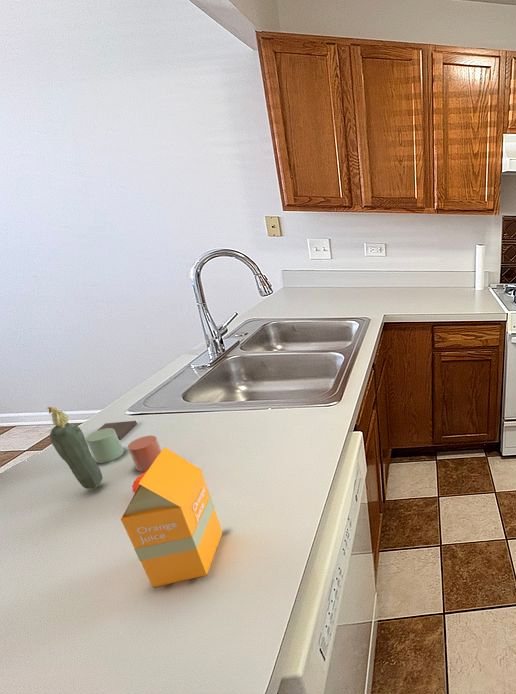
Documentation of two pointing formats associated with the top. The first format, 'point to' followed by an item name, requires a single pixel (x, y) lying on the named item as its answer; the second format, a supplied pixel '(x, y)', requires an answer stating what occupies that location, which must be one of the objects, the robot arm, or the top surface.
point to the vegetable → (74, 450)
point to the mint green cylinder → (104, 445)
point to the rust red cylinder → (144, 452)
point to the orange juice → (173, 521)
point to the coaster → (120, 427)
